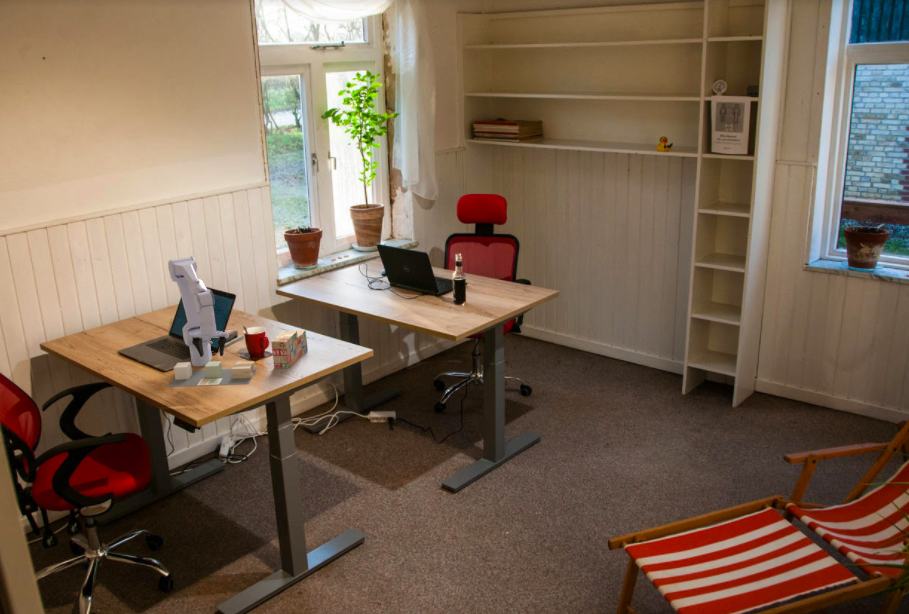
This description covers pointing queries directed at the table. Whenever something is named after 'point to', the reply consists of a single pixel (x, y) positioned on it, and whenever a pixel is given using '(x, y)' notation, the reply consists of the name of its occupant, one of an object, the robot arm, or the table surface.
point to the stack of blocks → (288, 347)
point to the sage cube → (214, 369)
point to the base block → (243, 369)
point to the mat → (201, 374)
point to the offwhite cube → (183, 370)
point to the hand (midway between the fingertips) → (212, 355)
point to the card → (209, 382)
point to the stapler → (231, 338)
